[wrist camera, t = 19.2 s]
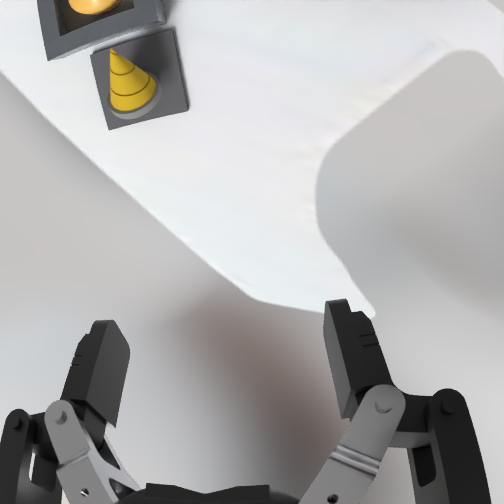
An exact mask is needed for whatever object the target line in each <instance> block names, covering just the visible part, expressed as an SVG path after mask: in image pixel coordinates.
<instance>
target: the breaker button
mask: <svg viewBox="0 0 504 504" xmlns="http://www.w3.org/2000/svg"><path fill="white" fill-rule="evenodd" d="M121 1H122V0H69V3H70V5H71V7H72V8H73V9H74V10H75V11H77V12H79V13H83V14H93V15H99V14H104V13H106V12H109V11H111V10H112V9H114V8H115V7H116V6H117V5H118V4H119V3H120V2H121Z"/></svg>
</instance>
